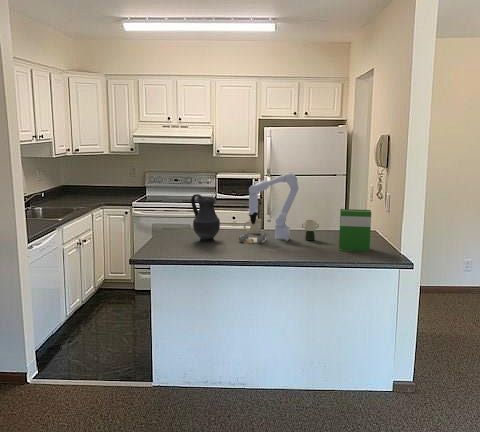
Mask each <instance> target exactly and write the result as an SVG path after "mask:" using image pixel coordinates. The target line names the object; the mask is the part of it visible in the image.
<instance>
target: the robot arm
mask: <svg viewBox="0 0 480 432" xmlns="http://www.w3.org/2000/svg"><path fill="white" fill-rule="evenodd" d="M278 183H287V185H288V186H289V188H290V191H289V193H288V195H287V197H286V200H285V203H284V204H283V207H282V209H281V211H280V213H279V214H278V215H277V216H276V219H275V226H274V238H275V239H276V240H284V241H285V242H287V241H289V240H290V237H291V236H290V235H291V234H290V231H291V230H290V229H291V228H290V227H291V226H287V224H286V221H287V216H288V213H289V211H290V209H291V208H292V204H293V203H294V201H295V198H296V196H297V193H298V191H299V183H298V178H297V176H296V174H295V173H293V172H289V173H285V174H282V175H279V176H277V177H275V178H274V177H273V178H272V179H270V180H264V179H261V181H260V182H257V183H254V184H252V185H250V186H249V187H248V193H249V195H248V196H249V198H248V201H249V202H248V209H247V210H246V211H247V212H248V216H249V220H250V219H251V223H252V224H255V222H256V219H258V218H257V217H258V215H259V209H258V208H259V204H258V203H259V196H258V193H259V192H260V193H261V192H263V191H266V190H268V189H269V188H270V186H273V185H275V184H278Z"/></svg>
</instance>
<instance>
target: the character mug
mask: <svg viewBox="0 0 480 432" xmlns="http://www.w3.org/2000/svg"><path fill="white" fill-rule="evenodd" d="M319 226H320V223H318V222H317V220H316V219H306V220H304V222H302V223H301V228H302V229H305V231H306V232H305V236H304V239H305V240H306V241H314V240H315V237H316V235H315V231H316V230H317V229H319V228H320V227H319Z"/></svg>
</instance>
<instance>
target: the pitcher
mask: <svg viewBox="0 0 480 432" xmlns="http://www.w3.org/2000/svg"><path fill="white" fill-rule="evenodd" d="M196 197H197V198H196ZM195 199H196V200H195ZM196 201H197V202H198V206H199V208H198V207H197V205H196ZM216 201H217V199H216V198H215V197H214V196H202V195H201V194H198V193H196V194H193V195H192V196H191V200H190V202H191V203H190V204H191V206H192V207H191V208H192V210H193V213H194V219H193V222H192V227H193V230H194V232H195V234H196V235H197V236H198V237H199V242H200V243H212V242H214V241H215V237H216V236H217V234H218V233H219V231H220V227H221V225H220V224H221V222H220V218H219V217H218V215H217V213H216V210H215V207H214V205H215V202H216ZM198 209H199V210H198Z"/></svg>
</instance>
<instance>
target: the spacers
mask: <svg viewBox="0 0 480 432" xmlns="http://www.w3.org/2000/svg"><path fill="white" fill-rule="evenodd" d="M248 238H250V233H249V232H244V233H243V234H241V235H240V236H238V243H243V244H244V243H245V242H244V241H246V239H248ZM256 238H257V242H256V243H257V244H258V245H262V244H263V243H264V242H263V240H265V239H266V233H260V235H258V236H257V237H256ZM265 241H266V240H265ZM262 242H263V243H262Z"/></svg>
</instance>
